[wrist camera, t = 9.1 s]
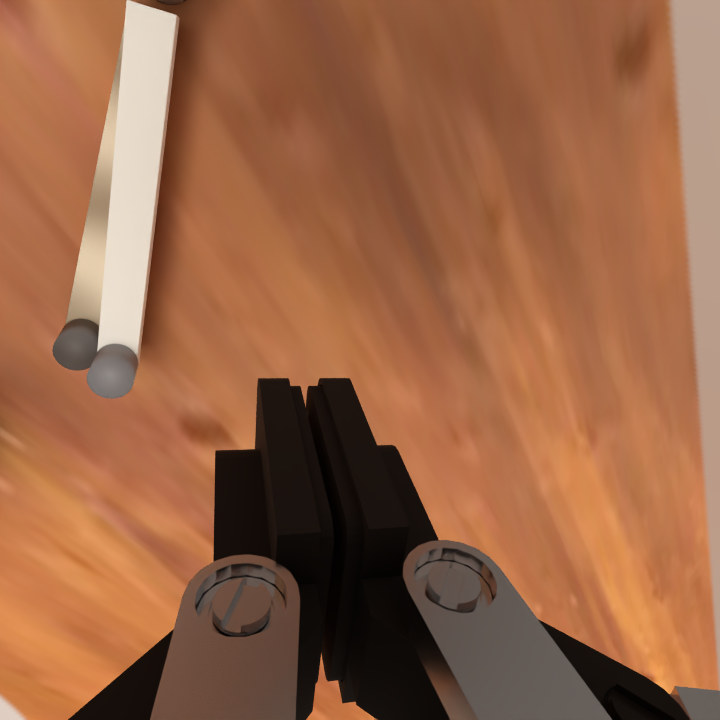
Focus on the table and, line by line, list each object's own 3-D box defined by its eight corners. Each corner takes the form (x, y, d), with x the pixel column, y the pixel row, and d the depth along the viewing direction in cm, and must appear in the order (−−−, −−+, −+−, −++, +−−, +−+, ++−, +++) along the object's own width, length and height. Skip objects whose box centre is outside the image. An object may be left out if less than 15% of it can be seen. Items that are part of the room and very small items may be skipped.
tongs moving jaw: (130, 3, 26) (116, -7, 22) (181, 18, 26) (175, 12, 23) (99, 360, 33) (85, 395, 29) (140, 365, 34) (131, 400, 30)
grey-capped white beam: (140, -85, 26) (120, -121, 21) (206, -53, 27) (202, -80, 22) (59, 332, 34) (30, 381, 29) (113, 345, 35) (94, 394, 30)
